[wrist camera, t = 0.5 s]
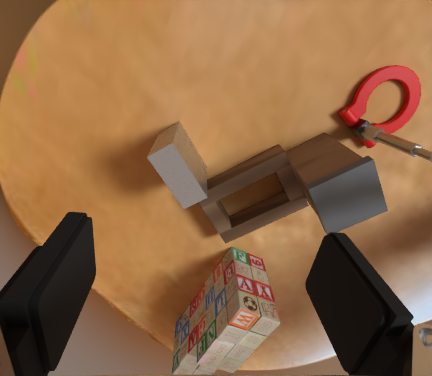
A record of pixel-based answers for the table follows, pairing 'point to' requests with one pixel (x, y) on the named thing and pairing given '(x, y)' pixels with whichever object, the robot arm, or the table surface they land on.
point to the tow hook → (383, 130)
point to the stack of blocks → (226, 317)
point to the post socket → (300, 188)
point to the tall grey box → (180, 165)
